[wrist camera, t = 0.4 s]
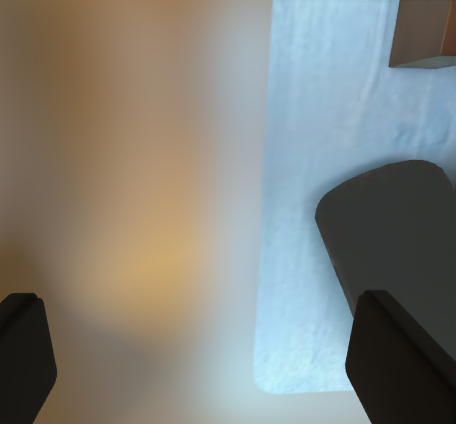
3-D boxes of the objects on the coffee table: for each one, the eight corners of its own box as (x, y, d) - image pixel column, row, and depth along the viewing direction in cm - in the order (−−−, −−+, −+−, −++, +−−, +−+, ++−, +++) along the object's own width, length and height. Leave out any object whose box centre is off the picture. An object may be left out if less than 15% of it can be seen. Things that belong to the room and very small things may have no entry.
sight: (306, 195, 22) (305, 218, 32) (428, 479, 18) (384, 406, 27) (436, 144, 21) (394, 184, 30) (605, 438, 16) (493, 376, 26)
